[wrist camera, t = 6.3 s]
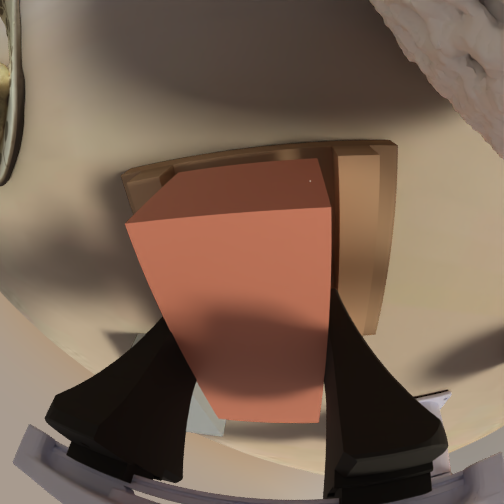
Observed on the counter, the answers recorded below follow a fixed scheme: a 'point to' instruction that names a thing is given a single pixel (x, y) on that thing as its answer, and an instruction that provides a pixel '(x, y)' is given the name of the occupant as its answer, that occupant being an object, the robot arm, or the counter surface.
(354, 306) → the jig
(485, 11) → the white rounded lumpy piece
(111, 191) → the counter surface
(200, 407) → the gray block
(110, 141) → the counter surface
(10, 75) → the salad plate
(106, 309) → the counter surface
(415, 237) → the counter surface
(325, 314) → the terracotta brick
